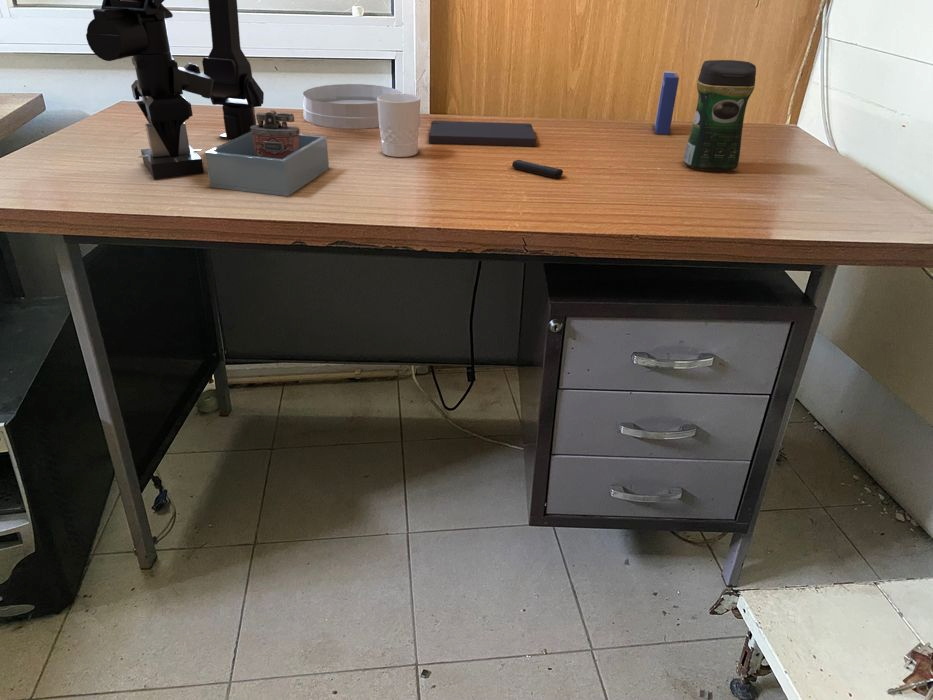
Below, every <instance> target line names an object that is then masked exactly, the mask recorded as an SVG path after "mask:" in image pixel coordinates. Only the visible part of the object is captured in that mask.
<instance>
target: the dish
mask: <svg viewBox="0 0 933 700" xmlns="http://www.w3.org/2000/svg"><path fill="white" fill-rule="evenodd" d="M392 93H402V94H403V92H402V91H401V90H398V89H396V88H393V87H388V86H384V85H376V84H365V83H364V84H363V83H342V84H341V83H339V84H328V85H327V84H326V85H320V86H315V87H311V88H308V89H306V90H304V91H303V92H302V100H303V106H302V112H303V119H304V120H305V121H306V122H308V123H309V124H312V125H315V126H319V127H324V128H331V129H342V130H343V129H344V130H365V129H376V128H379V117H378V104H377V97H378V96H380V95H384V94H392Z"/></svg>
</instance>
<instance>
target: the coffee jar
mask: <svg viewBox="0 0 933 700" xmlns="http://www.w3.org/2000/svg"><path fill="white" fill-rule="evenodd" d="M756 76H757V66H756V64H754V63H752V62H751V61H746V60H736V59H735V60H734V59H712V60H710V59H709V60H704V61H703V63H702V65H701V68H700V72H699V74H698V78H697V81H696V89H697V95H698V96H697V104H696V109H695V114H694V118H693V121H692V124H691V129H690V132H689V135H688V139H687V142H686V146H685V149H684V153H683V163H684V165H685V166H686V167H687V168H691V169H694V170H698V171H704V172H730V171H733V170H736V169H737V168H738V166H739V161H740V157H741V156H740V155H741V146H742V136H743V129H744V128H743V127H744V120H745V114H746V108H747V105H748V101H749V99H750V97H751V95H752V94H753V92H754V90H755V88H756Z"/></svg>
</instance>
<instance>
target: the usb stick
mask: <svg viewBox="0 0 933 700" xmlns="http://www.w3.org/2000/svg"><path fill="white" fill-rule="evenodd" d="M511 166H512V168H513V169H515V170H516V169H517V170H520V171H525V172H528V173H533V174H536V175H541V176H545V177H549V178H553V179H559V178H561V177H562V176H563V173H564V171H563V168H558V167H553V166H547V165H544V164H539V163H536V162H535V163H534V162H530V161H525V160H522V159H516V160H513V162H512V165H511Z"/></svg>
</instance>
